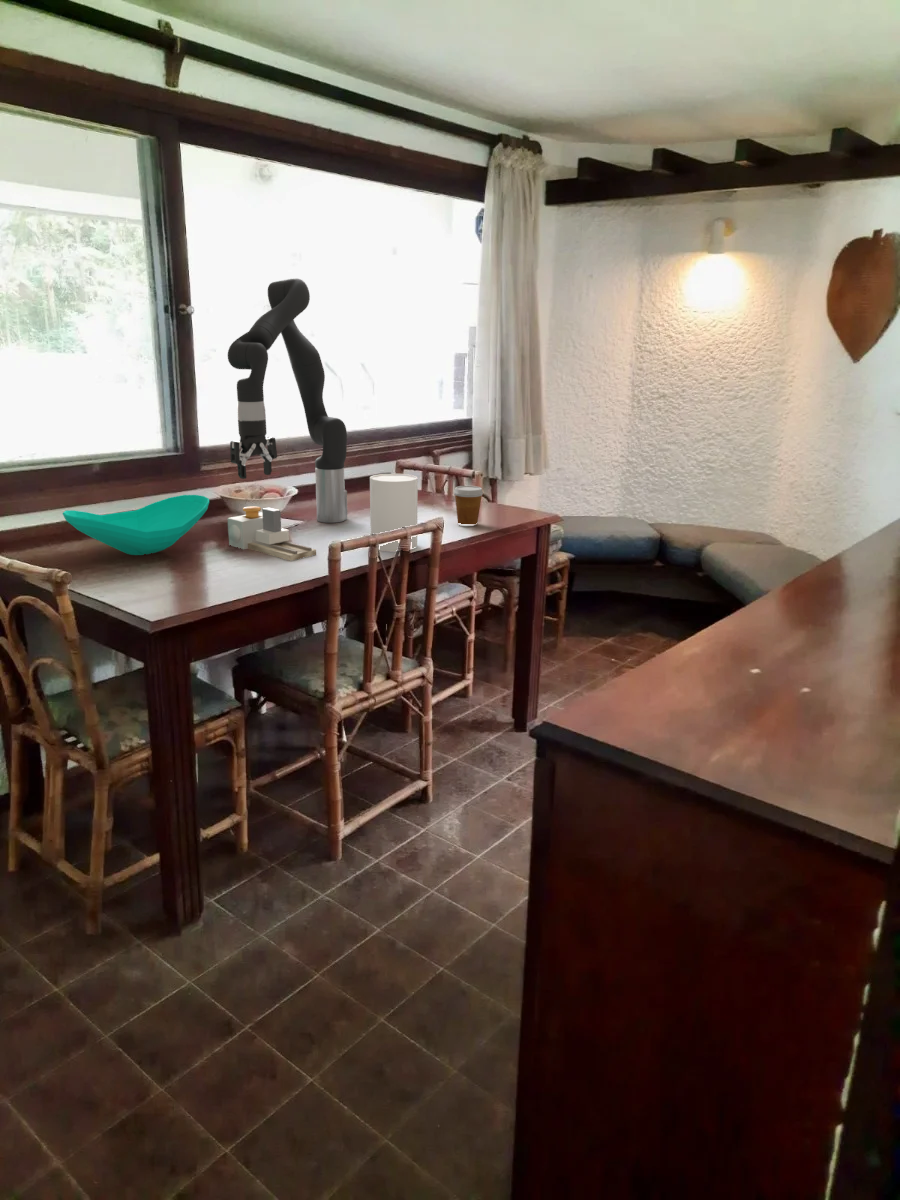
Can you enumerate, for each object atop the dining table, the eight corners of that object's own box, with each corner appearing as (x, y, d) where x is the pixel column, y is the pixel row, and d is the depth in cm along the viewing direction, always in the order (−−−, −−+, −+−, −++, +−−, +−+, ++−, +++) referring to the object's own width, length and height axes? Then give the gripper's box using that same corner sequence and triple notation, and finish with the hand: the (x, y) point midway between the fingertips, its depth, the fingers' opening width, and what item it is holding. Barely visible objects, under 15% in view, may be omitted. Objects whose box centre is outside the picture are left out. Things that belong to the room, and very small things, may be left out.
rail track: (273, 543, 243) (273, 535, 242) (316, 554, 231) (316, 546, 230) (248, 548, 236) (247, 540, 236) (290, 560, 224) (290, 552, 224)
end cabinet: (263, 538, 248) (261, 511, 246) (278, 542, 244) (276, 515, 241) (228, 545, 239) (226, 518, 237) (242, 549, 235) (240, 522, 232)
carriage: (276, 536, 240) (274, 506, 237) (289, 540, 236) (288, 509, 233) (256, 540, 235) (254, 509, 232) (269, 544, 231) (267, 512, 228)
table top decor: (184, 532, 253) (180, 489, 249) (233, 549, 235) (230, 503, 231) (50, 554, 226) (44, 506, 222) (94, 575, 208) (88, 523, 204)
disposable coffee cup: (448, 526, 268) (449, 489, 265) (459, 520, 277) (460, 484, 273) (476, 529, 265) (477, 491, 261) (486, 523, 273) (487, 486, 270)
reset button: (254, 517, 243) (253, 505, 242) (264, 520, 240) (264, 508, 239) (240, 520, 239) (239, 508, 238) (250, 522, 236) (249, 510, 235)
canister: (373, 539, 249) (372, 473, 243) (418, 541, 248) (419, 474, 242) (367, 551, 236) (367, 480, 230) (415, 552, 236) (415, 482, 229)
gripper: (263, 415, 237) (267, 472, 242) (221, 418, 227) (226, 478, 232) (280, 417, 233) (283, 475, 238) (238, 421, 222) (242, 481, 227)
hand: (255, 476), depth 235 cm, fingers open, 8 cm apart
